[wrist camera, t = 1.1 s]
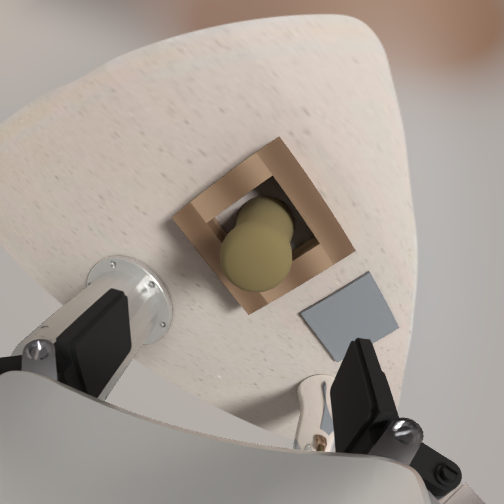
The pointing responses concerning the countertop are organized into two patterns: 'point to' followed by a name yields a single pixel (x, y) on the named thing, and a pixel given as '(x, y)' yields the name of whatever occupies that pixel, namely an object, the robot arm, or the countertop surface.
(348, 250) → the wooden square frame
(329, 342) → the rubber mat
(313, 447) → the beer glass
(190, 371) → the countertop surface
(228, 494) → the robot arm
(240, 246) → the olive rounded peg
